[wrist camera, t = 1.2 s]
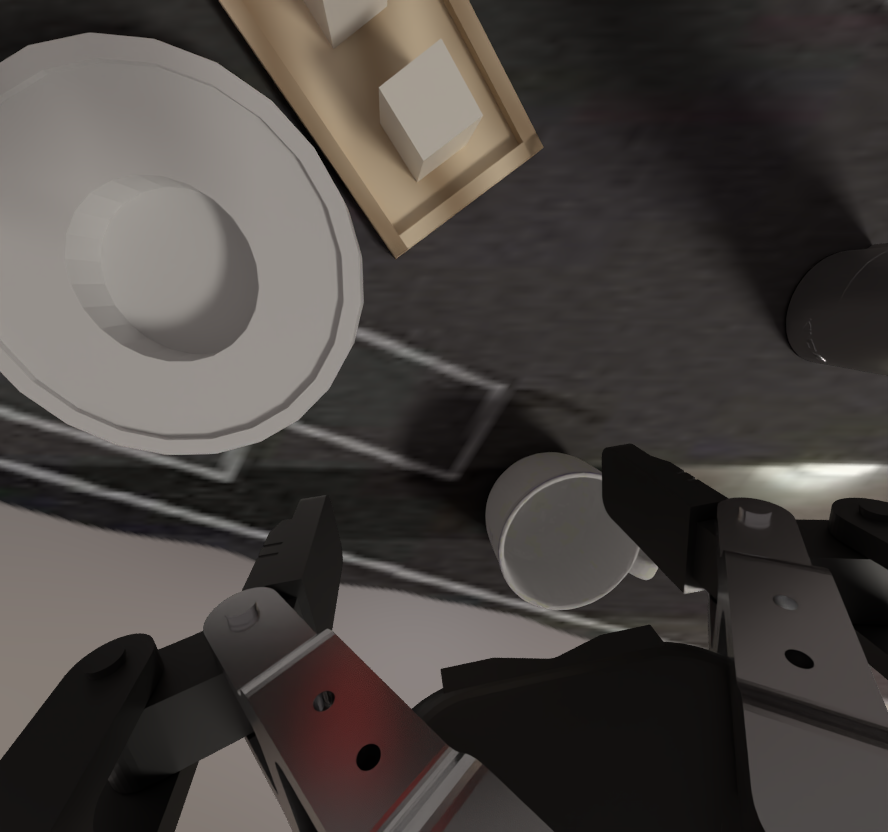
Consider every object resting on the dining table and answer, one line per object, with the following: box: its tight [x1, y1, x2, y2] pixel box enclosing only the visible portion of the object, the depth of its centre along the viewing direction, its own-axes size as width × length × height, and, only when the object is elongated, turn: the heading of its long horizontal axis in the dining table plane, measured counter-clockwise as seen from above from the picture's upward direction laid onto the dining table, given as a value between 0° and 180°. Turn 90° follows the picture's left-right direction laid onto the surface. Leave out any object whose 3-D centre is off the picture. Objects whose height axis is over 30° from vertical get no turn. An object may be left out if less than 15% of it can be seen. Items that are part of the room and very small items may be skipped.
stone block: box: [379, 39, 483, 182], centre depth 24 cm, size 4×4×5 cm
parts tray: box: [218, 0, 543, 259], centre depth 25 cm, size 12×18×1 cm, turn 35°
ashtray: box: [0, 32, 364, 455], centre depth 26 cm, size 23×23×4 cm
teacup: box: [485, 452, 658, 610], centre depth 33 cm, size 14×11×8 cm
